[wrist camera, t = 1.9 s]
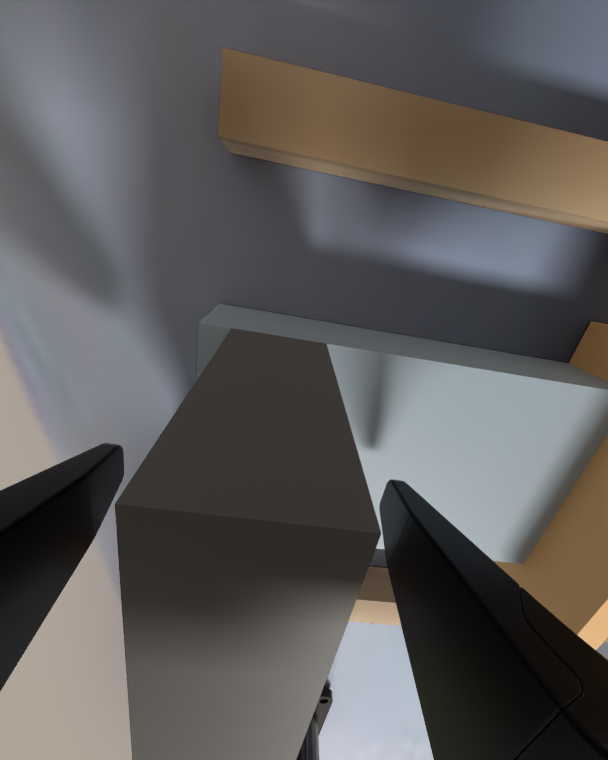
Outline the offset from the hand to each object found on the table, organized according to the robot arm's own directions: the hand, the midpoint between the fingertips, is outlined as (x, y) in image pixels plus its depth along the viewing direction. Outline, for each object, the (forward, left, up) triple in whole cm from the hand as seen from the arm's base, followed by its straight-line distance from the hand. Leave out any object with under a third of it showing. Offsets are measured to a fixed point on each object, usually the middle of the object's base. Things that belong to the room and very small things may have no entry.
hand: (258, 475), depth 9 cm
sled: (0, -4, -4) cm, 6 cm away
